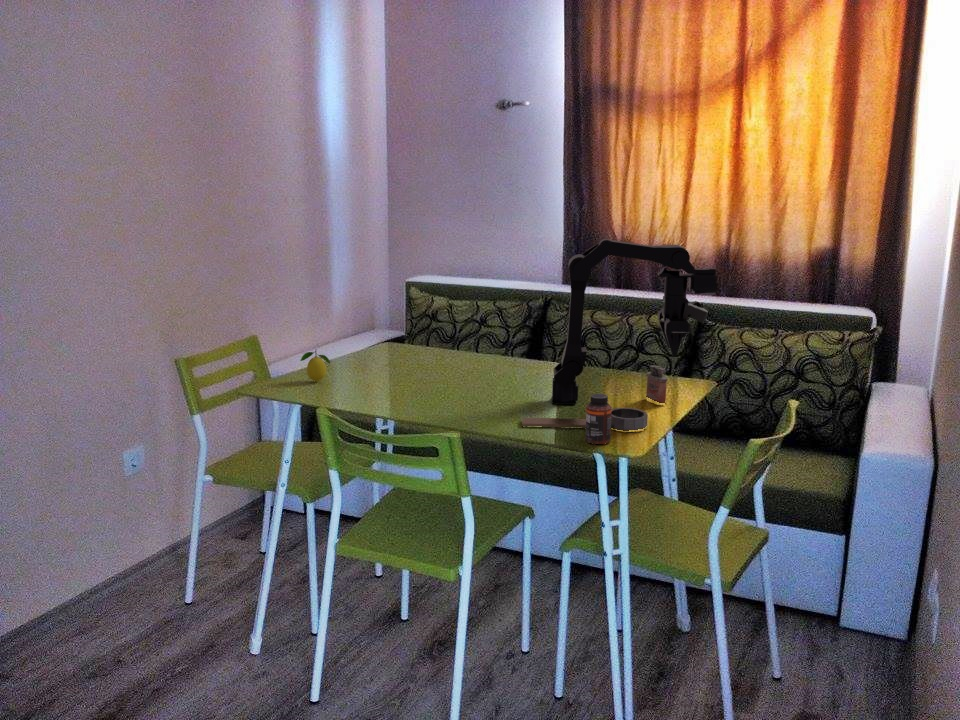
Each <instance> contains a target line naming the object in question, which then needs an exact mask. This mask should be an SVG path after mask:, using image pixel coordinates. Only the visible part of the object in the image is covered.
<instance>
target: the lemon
mask: <svg viewBox="0 0 960 720" xmlns="http://www.w3.org/2000/svg"><path fill="white" fill-rule="evenodd" d="M314 353H315V355H314V356H313V354H314ZM311 356H313V357H311ZM310 357H311V359H309V361H308V363H307V367H306V374H307V376H308V378H309V379H311V380H313V381H315V382H316V383H319V382H320V380H323V379H324V378H325V377H326V375H327V365H326V363H327V364H331V361H330V359H329V358H328V357H327V356H326V355H325V354H318V353H317V350H315V351H313V352H311V351H308V352H305V353H304V354H303V355H302V357H301V358H300V360H299V361H300V362H302V361H305V360H307V359H308V358H310ZM325 362H326V363H325Z"/></svg>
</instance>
